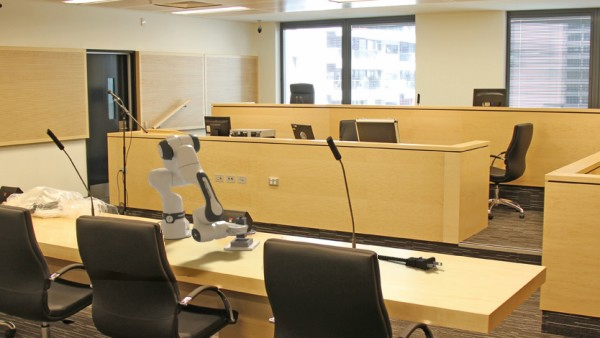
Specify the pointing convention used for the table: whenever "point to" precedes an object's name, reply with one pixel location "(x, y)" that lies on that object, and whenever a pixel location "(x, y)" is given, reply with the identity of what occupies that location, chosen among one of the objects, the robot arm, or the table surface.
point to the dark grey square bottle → (241, 221)
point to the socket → (241, 244)
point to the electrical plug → (414, 261)
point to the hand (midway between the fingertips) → (242, 225)
